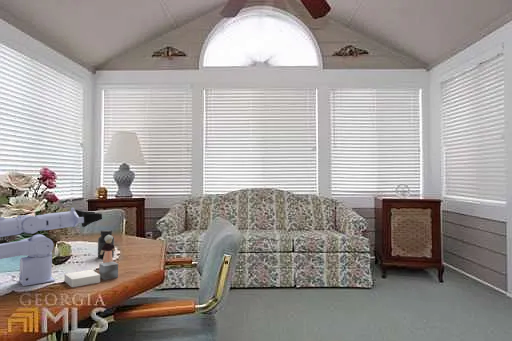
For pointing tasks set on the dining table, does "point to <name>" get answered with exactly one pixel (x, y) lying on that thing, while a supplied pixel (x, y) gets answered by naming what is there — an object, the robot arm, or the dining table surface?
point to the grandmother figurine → (107, 249)
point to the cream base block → (82, 278)
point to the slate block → (108, 270)
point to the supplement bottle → (102, 242)
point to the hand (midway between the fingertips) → (98, 215)
